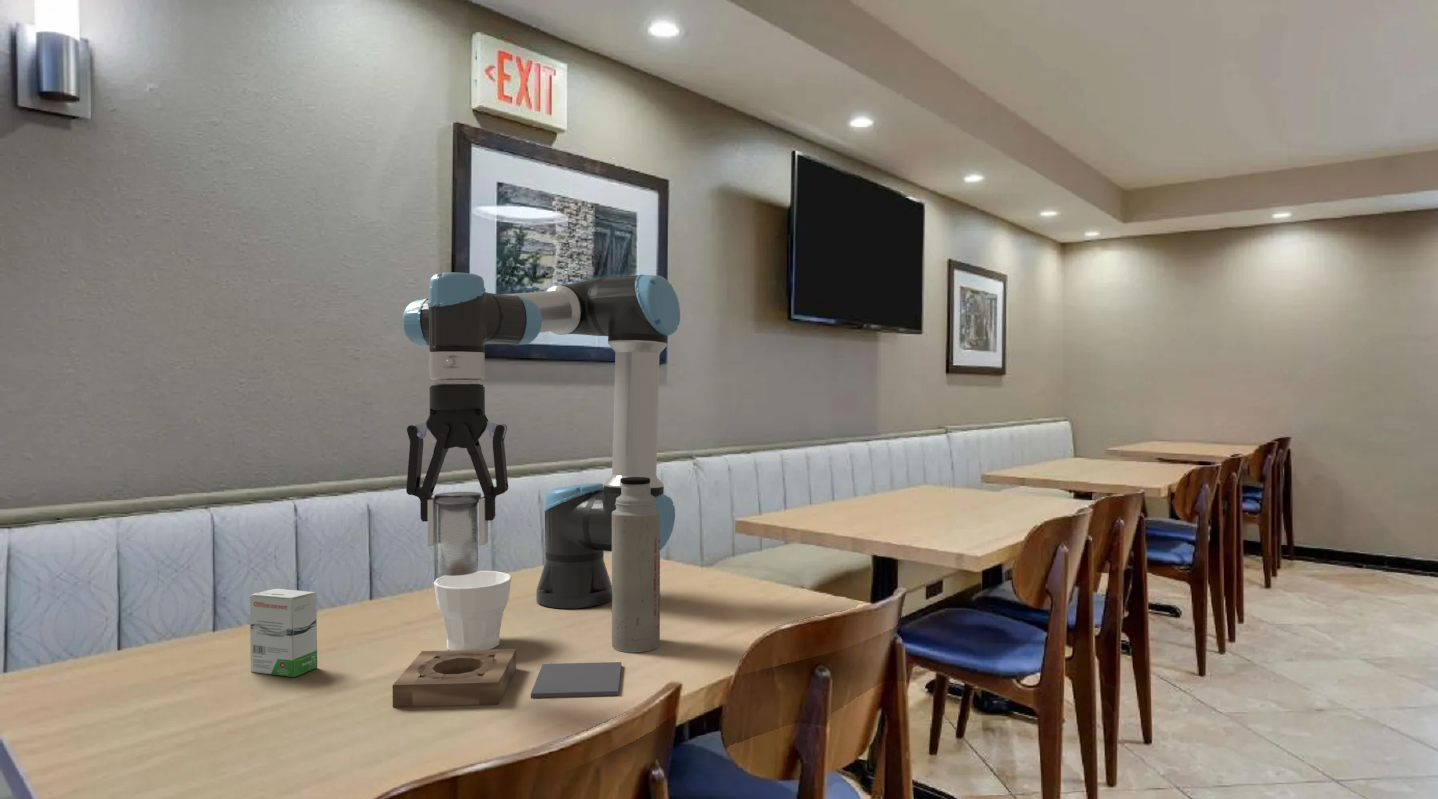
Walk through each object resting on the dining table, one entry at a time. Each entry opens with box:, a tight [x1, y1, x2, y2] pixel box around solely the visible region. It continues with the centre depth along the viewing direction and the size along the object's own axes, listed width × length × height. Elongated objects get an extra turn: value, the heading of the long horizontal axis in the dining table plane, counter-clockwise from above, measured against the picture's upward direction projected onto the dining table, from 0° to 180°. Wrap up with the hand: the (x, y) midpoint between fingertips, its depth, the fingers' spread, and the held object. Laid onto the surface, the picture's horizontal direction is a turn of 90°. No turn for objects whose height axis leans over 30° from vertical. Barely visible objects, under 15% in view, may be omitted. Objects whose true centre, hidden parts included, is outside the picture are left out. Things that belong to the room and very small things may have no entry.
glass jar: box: [433, 491, 482, 576], centre depth 117 cm, size 6×6×11 cm
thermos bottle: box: [611, 477, 661, 653], centre depth 136 cm, size 8×8×28 cm
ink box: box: [249, 587, 318, 678], centre depth 124 cm, size 9×5×12 cm, turn 71°
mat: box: [530, 661, 622, 699], centre depth 120 cm, size 12×12×1 cm
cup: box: [433, 570, 512, 651], centre depth 136 cm, size 12×12×11 cm
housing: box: [392, 648, 517, 708], centre depth 117 cm, size 14×14×3 cm
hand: (458, 543), depth 117 cm, fingers closed on glass jar, 6 cm apart
